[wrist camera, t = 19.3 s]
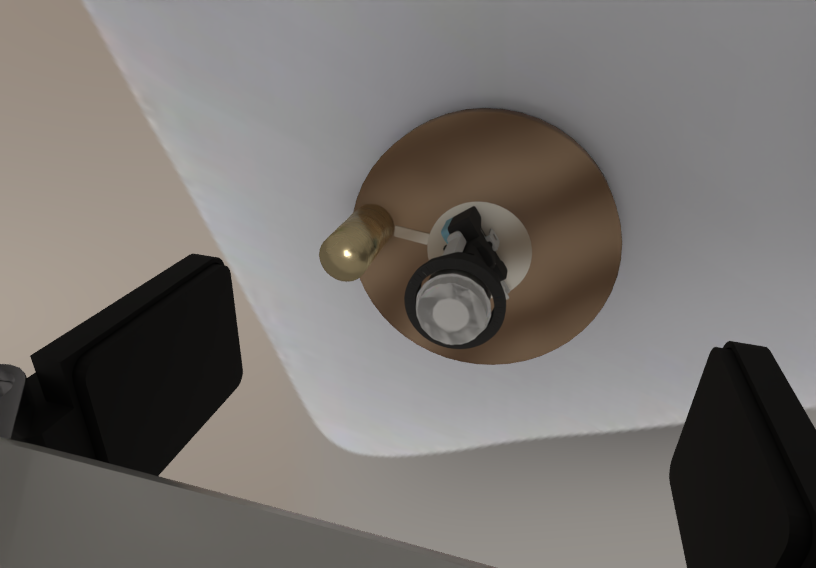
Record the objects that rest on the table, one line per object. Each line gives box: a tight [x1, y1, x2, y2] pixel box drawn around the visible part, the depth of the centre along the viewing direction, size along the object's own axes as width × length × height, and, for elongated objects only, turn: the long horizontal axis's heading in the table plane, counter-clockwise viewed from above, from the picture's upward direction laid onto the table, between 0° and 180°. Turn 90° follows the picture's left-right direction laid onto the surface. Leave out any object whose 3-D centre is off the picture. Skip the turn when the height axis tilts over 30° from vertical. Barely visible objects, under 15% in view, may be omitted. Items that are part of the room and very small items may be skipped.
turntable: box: [319, 108, 622, 365], centre depth 35 cm, size 18×18×8 cm
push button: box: [404, 206, 510, 349], centre depth 32 cm, size 7×5×10 cm
